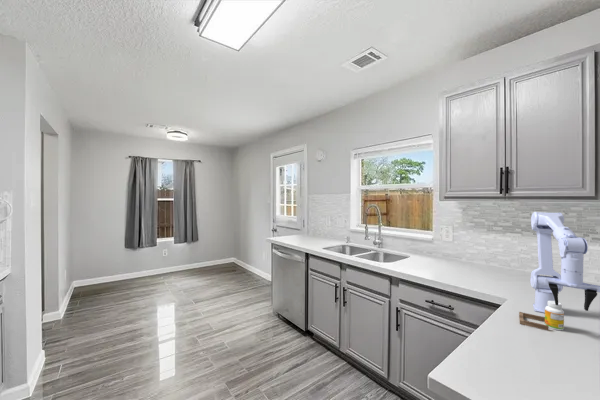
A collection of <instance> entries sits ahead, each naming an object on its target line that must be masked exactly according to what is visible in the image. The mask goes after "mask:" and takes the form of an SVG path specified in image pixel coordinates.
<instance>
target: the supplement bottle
mask: <svg viewBox="0 0 600 400" xmlns="http://www.w3.org/2000/svg"><path fill="white" fill-rule="evenodd" d="M562 305H563V304H562V303H561V302H559V301H558V305H555V301H548V306H546V307H545V313H544V317H545V322H544V325H548V327H549V329H552V330H556V331H564V330H565V328H564V325H565V311H564V310H563V308H562Z"/></svg>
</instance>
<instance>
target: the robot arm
mask: <svg viewBox="0 0 600 400" xmlns="http://www.w3.org/2000/svg"><path fill="white" fill-rule="evenodd" d="M530 223H531V230H532V231H534V232H536V233H535V234H536V237H537V238H536V242H537V243H536V244H537V259H538V260H537V261H538V263H537V264H538V267H537V268H535V269H533V270H532V271H531V273H530V280H529V281H530V286H531V287H532V288H533V289H534V303H532V306H533V311H535V312H537V313H544V314H545V307H546V306H548V301H555V305H558V302H559V294H560V293H561V291H563V289H564V287H566V288H571V289H573V288H574V289H579V290H584V303H583V310H585V311H586V312H589V310H590V309H589V308H590V307H591V304H592V302H593V301H594V299H595V298H596V297H597V296H598V293H600V285H598V284H591V283H585V282H584V257H585V256H584V255H586V254H587V253H588V250H589V245H588V242H587V239H586V238H585V237H579V236H577V235H576V233H575V232H574V231H573V229H571V228H570V227H568V226H565V216H564V214H563V213H562V212H544V211H534V212H532V213H531V217H530ZM552 235H553V237H554V238H555V240H556V241H557V245H558V250H559V256H560V258H561V260H560V273H559V272H557V271H556V270H555V269H554V264H553V263H554V261H553V247H552V246H553V245H552Z"/></svg>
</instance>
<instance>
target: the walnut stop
mask: <svg viewBox="0 0 600 400" xmlns="http://www.w3.org/2000/svg"><path fill="white" fill-rule="evenodd" d="M518 315H519V316H518V318H519V319H518V320H519V325H523V326H526V327H527V326H528V327H531V328H534V329H540V330H544V331H549V329H550V328H549V327H548V325H545V324H543V323H545V316H541V315H537V314H531V313H527V312H522V311H518ZM524 318H525V319H531V320H535V321H539V322H543V323H538V322H534V321H529V320H525V319H524Z"/></svg>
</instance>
